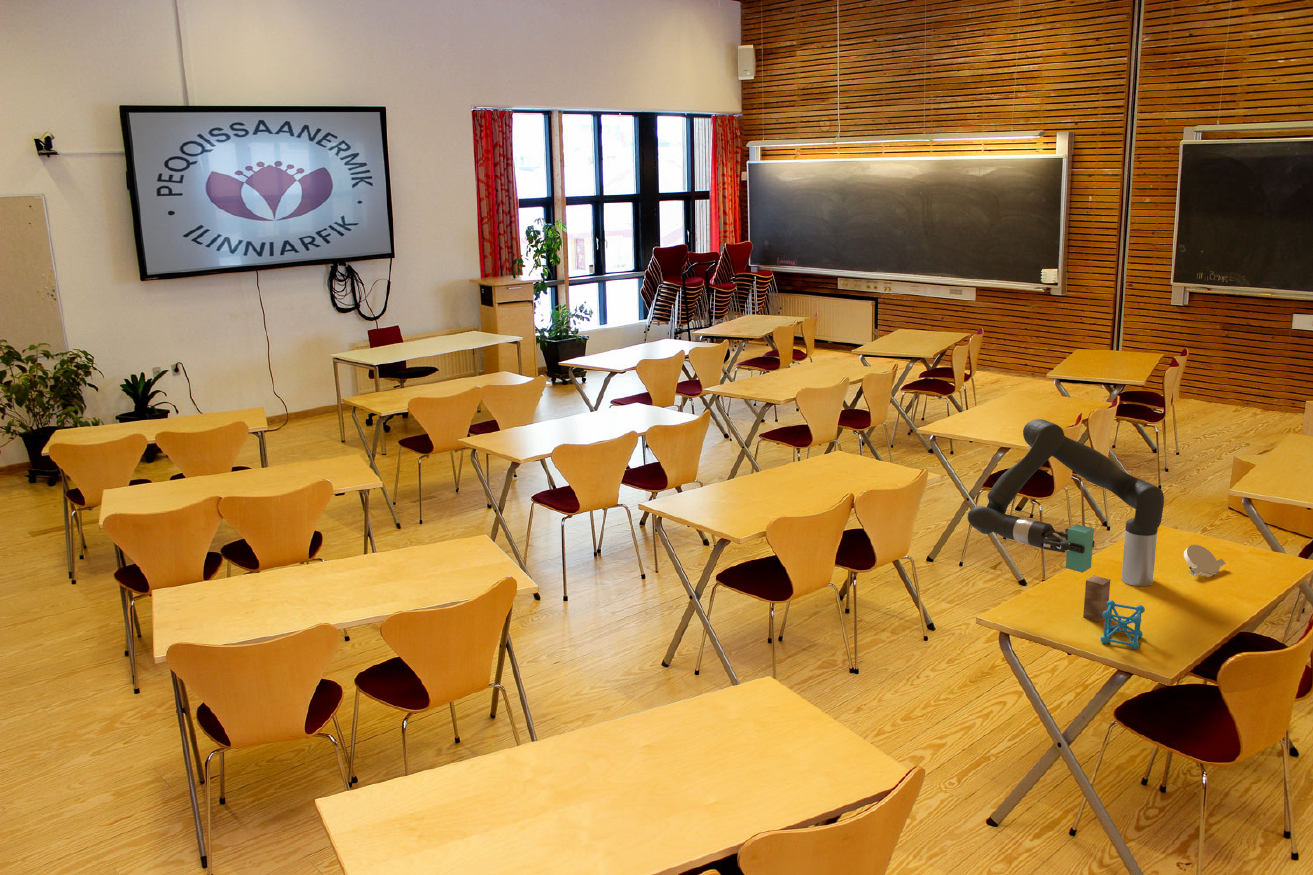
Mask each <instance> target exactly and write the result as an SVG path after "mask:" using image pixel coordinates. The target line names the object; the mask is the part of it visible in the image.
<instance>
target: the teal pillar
mask: <svg viewBox="0 0 1313 875" xmlns="http://www.w3.org/2000/svg"><path fill="white" fill-rule="evenodd" d="M1067 529H1068V540H1067V541H1068V542H1071V543H1075V544H1079V545H1083V546H1085V552H1084V553H1083V554H1081V553H1078V552H1074V551H1066V556H1065V557H1066V558H1065V569H1067V570H1072V571H1073V572H1074V571H1075V572H1079V573H1084V572H1086V571H1088V570H1090V569H1091V568H1092V559H1093V548H1094V547H1093V540H1094V535H1095V534H1094V533H1095V532H1094V531H1095V529H1094V527H1091V526H1086V525H1081V524H1074V525H1072V526H1071V527H1069V528H1067ZM1092 547H1093V548H1092Z"/></svg>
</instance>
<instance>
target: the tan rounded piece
mask: <svg viewBox="0 0 1313 875" xmlns="http://www.w3.org/2000/svg"><path fill="white" fill-rule="evenodd" d="M1183 558H1184V560H1185V562H1186V563H1187V564H1188V566H1189V571H1188V573H1189V574H1190V575H1191V576H1192V577H1195V576H1198V575H1200V576H1202V577H1206V576H1208V577H1207V578H1210V577H1212V576H1216V575H1217V574H1219V573H1220V568H1221V567H1224V566H1225V565H1226V562H1225V560H1224V559H1223V558H1219V559H1217V558H1216V557H1215V556H1214V554H1213V553H1212V552H1211V551H1210V550H1209V549H1207V548H1205V547H1204V546H1202V545H1199V544H1191V545H1189V546H1188V547H1186V549H1185V550H1184V552H1183Z"/></svg>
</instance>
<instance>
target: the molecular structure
mask: <svg viewBox="0 0 1313 875" xmlns="http://www.w3.org/2000/svg"><path fill="white" fill-rule="evenodd" d="M1107 606H1108V609H1107V610H1106V611H1104V612H1103V613H1102V615H1103V617H1104V618H1105V619H1104V626H1103V628H1104V630H1103V635H1101V637H1100V642H1101V643H1102V644H1105V645H1106V644H1108V643H1115V644H1121V645H1125V646H1130V648H1131V649H1133V650H1137V649H1139V647H1140V643H1139V642H1138V640H1139V639H1140V638H1142V637H1143V636H1144V635H1143V632H1142V631H1141V622H1142V614H1144V613H1145V610H1146V608H1145V607H1144V606H1143V605H1141V604H1139V605H1136V606H1130V605H1125V604H1119V603H1116V602H1115V600H1111V599H1109V601H1108V602H1107ZM1115 607H1117V608H1121V609H1122V608H1123V609H1129V610H1134V611H1135V612H1133V613H1132V614H1131V615H1130V616H1125V615H1120V614H1119V613H1118V610H1116V608H1115ZM1113 613H1114V614H1113ZM1112 621H1114V622H1116V623H1117V624H1115V625H1112ZM1130 624H1134V628H1132V627H1131V626H1128V625H1130ZM1116 632H1118V633H1123V634H1124V633H1125V634H1126V635H1127V637H1128V639H1129V641H1130V642H1126V641H1124V640H1123V641H1122V640H1117V639H1111V637H1113V635H1114V634H1115V633H1116ZM1131 635H1133V636H1131Z"/></svg>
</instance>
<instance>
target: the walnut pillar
mask: <svg viewBox="0 0 1313 875" xmlns="http://www.w3.org/2000/svg"><path fill="white" fill-rule="evenodd" d="M1110 589H1111V579H1109V578H1105V577H1103V576H1099V575H1095V574H1094V575H1092V576H1090V577H1089V578H1086V580H1085V589H1084V590H1085V591H1084V602H1083V603H1084V604H1083V615H1082V616H1083V618H1085V619H1088V620H1092V621H1095V622H1097V623H1101V622H1102V621H1103V620H1104V621H1105V618H1104V617H1103V615H1102V613H1103V612H1104V611H1106V610H1107V609H1108V606H1107V602H1108V601H1109V600H1110V592H1111V591H1110Z"/></svg>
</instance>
